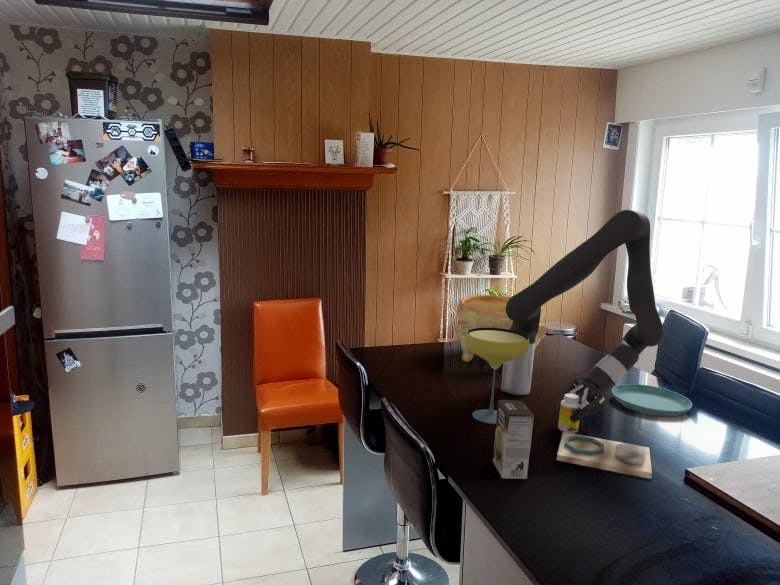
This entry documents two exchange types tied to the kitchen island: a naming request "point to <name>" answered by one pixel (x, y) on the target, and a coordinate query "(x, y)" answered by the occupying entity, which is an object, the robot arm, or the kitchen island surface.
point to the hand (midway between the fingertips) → (564, 415)
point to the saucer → (651, 400)
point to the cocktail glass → (495, 356)
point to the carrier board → (605, 455)
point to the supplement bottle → (568, 413)
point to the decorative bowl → (484, 318)
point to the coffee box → (512, 439)
